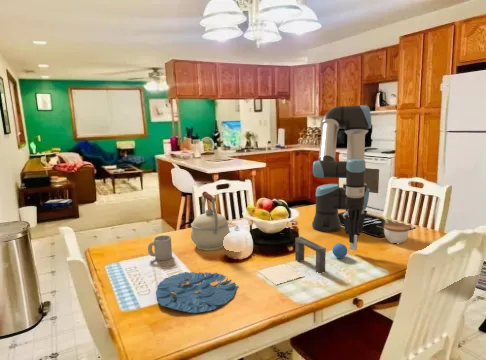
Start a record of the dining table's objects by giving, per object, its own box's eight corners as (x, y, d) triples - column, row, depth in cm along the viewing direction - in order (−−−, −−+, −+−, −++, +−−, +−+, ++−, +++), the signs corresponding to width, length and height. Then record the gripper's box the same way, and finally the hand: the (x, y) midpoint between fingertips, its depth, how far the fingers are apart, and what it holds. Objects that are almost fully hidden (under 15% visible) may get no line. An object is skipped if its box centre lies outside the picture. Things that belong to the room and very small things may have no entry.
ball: (329, 256, 145) (329, 243, 144) (339, 253, 148) (340, 240, 147) (339, 261, 140) (339, 247, 139) (350, 258, 143) (350, 244, 142)
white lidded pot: (412, 245, 155) (413, 225, 153) (388, 246, 155) (389, 226, 153) (402, 237, 165) (403, 218, 164) (379, 238, 166) (380, 219, 164)
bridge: (319, 273, 130) (319, 249, 128) (295, 260, 143) (295, 238, 141) (325, 272, 131) (325, 248, 129) (301, 258, 144) (301, 236, 142)
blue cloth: (196, 269, 141) (196, 257, 140) (254, 290, 122) (253, 276, 121) (133, 296, 118) (132, 282, 117) (192, 326, 99) (191, 310, 98)
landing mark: (257, 271, 133) (257, 270, 133) (284, 264, 139) (284, 263, 139) (275, 285, 122) (275, 284, 122) (304, 276, 128) (304, 276, 128)
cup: (173, 259, 147) (172, 239, 146) (149, 263, 144) (148, 243, 142) (170, 253, 154) (169, 234, 152) (147, 257, 150) (146, 237, 149)
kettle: (237, 249, 156) (235, 196, 151) (197, 256, 149) (194, 201, 145) (220, 233, 178) (218, 186, 174) (185, 238, 172) (182, 190, 167)
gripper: (350, 199, 137) (348, 255, 141) (372, 195, 143) (370, 249, 147) (336, 196, 143) (335, 249, 147) (359, 192, 149) (357, 243, 153)
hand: (353, 249), depth 147 cm, fingers closed
